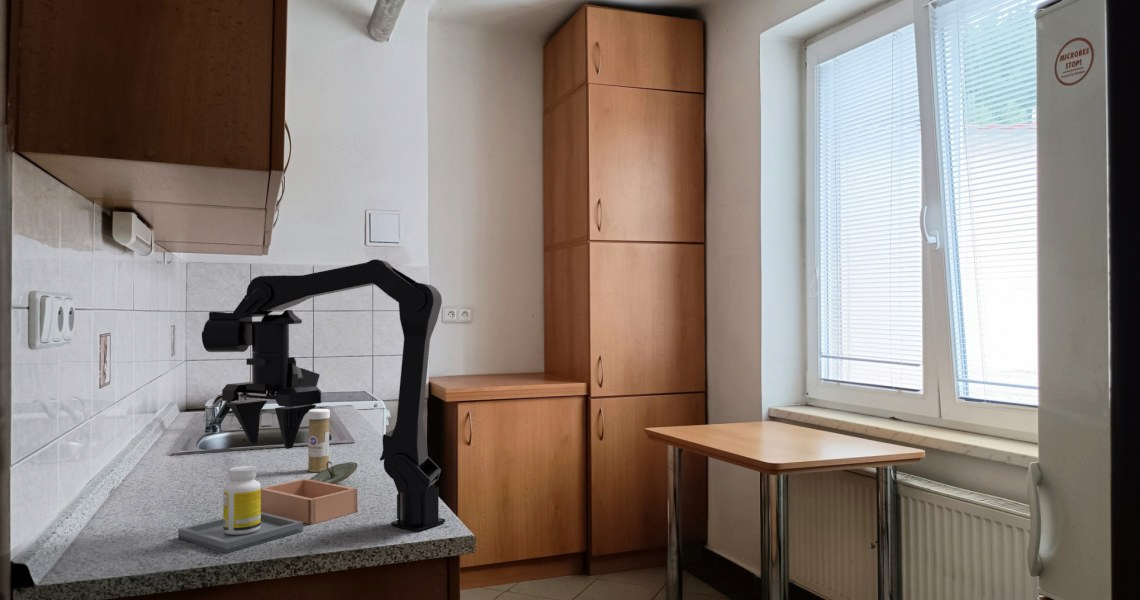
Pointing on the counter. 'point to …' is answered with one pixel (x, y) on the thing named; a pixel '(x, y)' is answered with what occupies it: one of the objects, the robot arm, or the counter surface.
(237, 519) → the supplement bottle
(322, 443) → the sprinkles bottle
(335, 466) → the lid
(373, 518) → the counter surface
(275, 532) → the tray
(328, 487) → the holder
